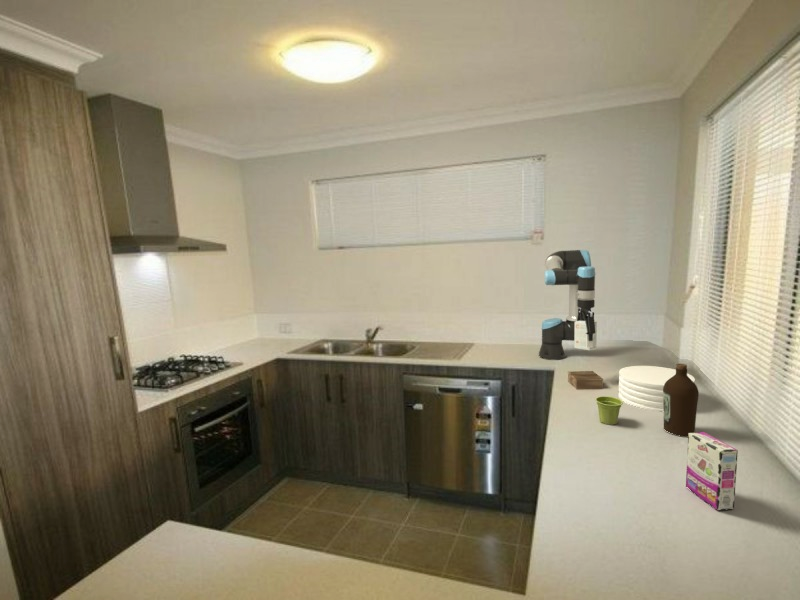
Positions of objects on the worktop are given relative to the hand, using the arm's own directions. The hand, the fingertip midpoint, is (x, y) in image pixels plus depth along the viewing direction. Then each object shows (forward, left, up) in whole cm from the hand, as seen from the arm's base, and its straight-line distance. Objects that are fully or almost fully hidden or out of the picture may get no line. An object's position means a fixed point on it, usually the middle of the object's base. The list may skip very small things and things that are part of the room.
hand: (585, 344), depth 202 cm
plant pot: (+43, -7, -20) cm, 48 cm away
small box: (0, 0, -2) cm, 2 cm away
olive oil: (+52, +14, -20) cm, 58 cm away
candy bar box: (+93, -2, -20) cm, 95 cm away
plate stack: (+21, +22, -21) cm, 37 cm away
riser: (0, 0, -20) cm, 20 cm away
